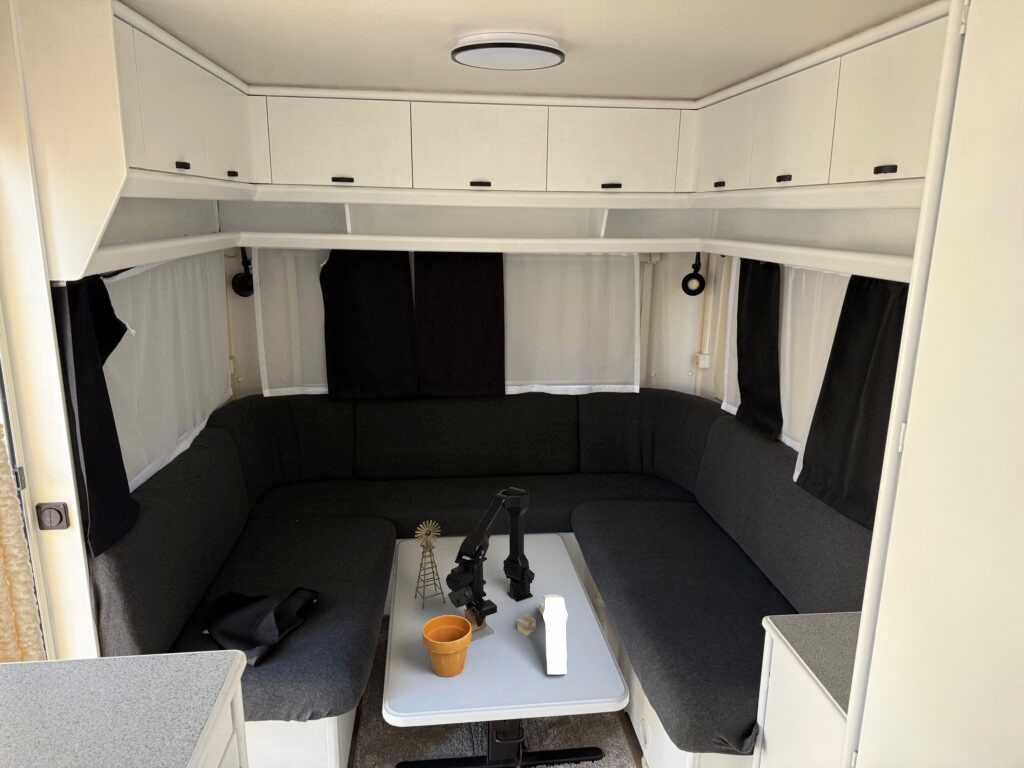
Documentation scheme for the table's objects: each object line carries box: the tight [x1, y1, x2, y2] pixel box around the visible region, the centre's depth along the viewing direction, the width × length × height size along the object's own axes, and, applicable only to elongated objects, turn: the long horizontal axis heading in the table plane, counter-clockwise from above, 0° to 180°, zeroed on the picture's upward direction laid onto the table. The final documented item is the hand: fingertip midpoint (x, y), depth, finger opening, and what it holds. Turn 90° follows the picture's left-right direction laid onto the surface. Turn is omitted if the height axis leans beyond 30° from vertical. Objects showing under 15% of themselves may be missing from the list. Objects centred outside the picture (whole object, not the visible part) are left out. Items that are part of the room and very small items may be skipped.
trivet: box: [471, 622, 495, 642], centre depth 221 cm, size 8×10×1 cm
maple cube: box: [517, 614, 536, 637], centre depth 220 cm, size 4×4×4 cm
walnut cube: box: [464, 606, 487, 631], centre depth 220 cm, size 5×5×5 cm
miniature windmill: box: [414, 519, 446, 610], centre depth 235 cm, size 9×8×30 cm
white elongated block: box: [538, 594, 568, 675], centre depth 214 cm, size 7×33×21 cm, turn 1°
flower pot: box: [421, 614, 472, 678], centre depth 201 cm, size 14×14×13 cm
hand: (475, 622), depth 221 cm, fingers closed on walnut cube, 5 cm apart
